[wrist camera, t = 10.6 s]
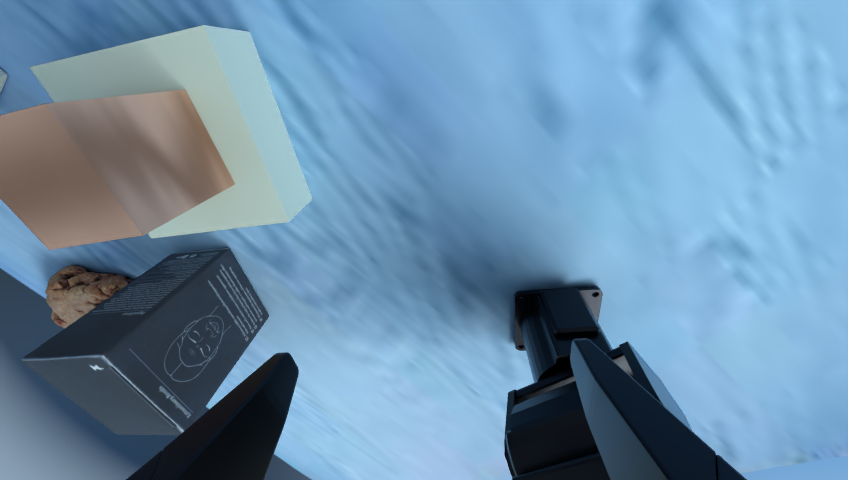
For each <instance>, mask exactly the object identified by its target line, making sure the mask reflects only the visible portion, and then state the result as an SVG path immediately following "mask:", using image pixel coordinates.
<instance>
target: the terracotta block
mask: <svg viewBox="0 0 848 480" xmlns="http://www.w3.org/2000/svg"><path fill="white" fill-rule="evenodd" d="M233 185H235V183H234V181H233V179H232V177H231V175H230V173H229V171H228V169H227V168H226V166H225V164H224V162H223V160H222V158H221V156H220V154H219V152H218V150H217V148H216V147H215V145H214V143H213V141H212V139H211V137H210V135H209V133H208V131H207V129H206V128H205V126H204V124H203V122H202V120H201V118H200V116H199V114H198V112H197V110H196V108H195V107H194V105H193V103H192V101H191V99H190V97H189V95H188V93H187V91H186V89H185V90H175V91H165V92H155V93H145V94H135V95H125V96H115V97H106V98H96V99H86V100H76V101H66V102H56V103H46V104H42V105H38V106H34V107H30V108H26V109H22V110H19V111H15V112H11V113H7V114H3V115H0V199H1V200H2V201H3V202H4V203H5V204H6V205H7V206H8V207H9V208H10V209H11V210H12V211H13V212H14V213H15V214H16V215H17V217H18V218H19V219H20V220H21V221H22V222H23V223H24V224H25V225H26V226H27V227H28V228H29V229H30V230H31V231H32V232H33V233H34V234H35V235H36V237H37V238H38V239H39V240H40V241H41V242H42V243H43V244H44V245H45V246H46V247H47V248H48V249H49V250H52V249H58V248H65V247H71V246H78V245H84V244H91V243H98V242H104V241H111V240H117V239H124V238H130V237H137V236H143V235H145V234H147V233H149V232H151V231H152V230H154V229H156V228H158V227H159V226H161V225H163V224H165V223H167V222H168V221H170V220H172V219H174V218H176V217H177V216H179V215H181V214H183V213H185V212H186V211H188V210H190V209H192V208H194V207H195V206H197V205H199V204H201V203H203V202H204V201H206V200H208V199H210V198H211V197H213V196H215V195H217V194H219V193H220V192H222V191H224V190H226V189H228V188H229V187H231V186H233Z"/></svg>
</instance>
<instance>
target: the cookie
mask: <svg viewBox="0 0 848 480" xmlns="http://www.w3.org/2000/svg"><path fill="white" fill-rule="evenodd" d="M131 282H132V280H128V279H127V277H124V276H122V275H114V274H113V273H111V274H107V273H105V274H101V273H94V272H86V269H84V268H82V267H79V266H73V265H70V266H67V267H65V268H64V269H62V270H60V271H58V272H57V273H56V274H55V275H53V276H52V277H51V278H50V280H49V281H48V286H47V289H46V294H47V298H46V302H47V304H48V305H49V306H50V307H51V308H52V310H53V312H52V316H51V318H52V319H53V320H54V322H55V323H56V324H57V325H58V326H62V327H63V328H64V329H65V328H66V327H68V326H69V325H70V324H72V323H74V322H75V321H76V320H78V319H79V318H80V317H82V316H84V315H85V314H87V313H88V312H89V311H91V310H92V309H93V308H95V307H96V306H98V305H99V304H101V303H102V302H104V301H105V300H107V299H108V298H110V297H111V296H112V295H114V294H115V293H116V292H118V291H119V290H121V289H122V288H124V287H125V286H126V285H128V284H129V283H131Z"/></svg>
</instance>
